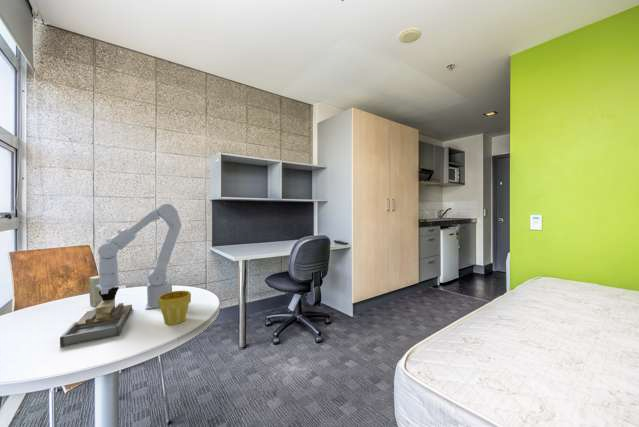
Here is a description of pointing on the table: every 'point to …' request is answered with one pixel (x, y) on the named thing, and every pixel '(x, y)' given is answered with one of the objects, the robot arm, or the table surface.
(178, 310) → the plant pot
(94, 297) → the skincare box
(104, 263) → the robot arm
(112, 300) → the light wooden cube
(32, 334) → the table surface
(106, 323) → the tray
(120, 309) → the slot bed
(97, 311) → the beige cube
